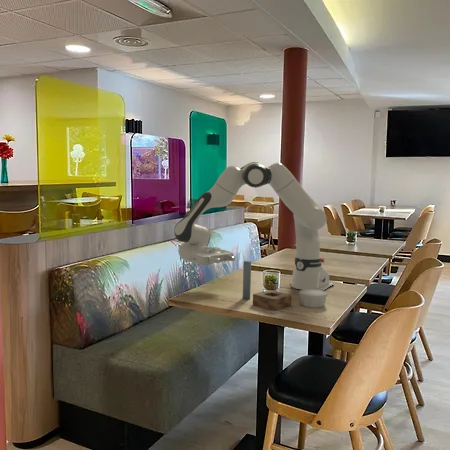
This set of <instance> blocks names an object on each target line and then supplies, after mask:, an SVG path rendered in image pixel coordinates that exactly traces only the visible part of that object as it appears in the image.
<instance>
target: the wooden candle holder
mask: <svg viewBox="0 0 450 450" xmlns="http://www.w3.org/2000/svg"><path fill="white" fill-rule="evenodd" d="M292 296H293V295H292V294H290V293H289V294H288V293H286V292H280V291H277V290H272V289H268V290H264V291H260V292H257V293H252V306H255V307H259V308H263V309H266V310H269V311H273V312H275V311H278V310H283V309H285V308H288V307H292Z"/></svg>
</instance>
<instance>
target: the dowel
mask: <svg viewBox="0 0 450 450" xmlns="http://www.w3.org/2000/svg"><path fill="white" fill-rule="evenodd" d="M242 267H243V268H242V269H243V273H242V275H243V276H242V300H251V284H252V283H251V282H252V281H251V279H252V261H250V260H244V261H243V266H242Z"/></svg>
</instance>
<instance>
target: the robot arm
mask: <svg viewBox="0 0 450 450" xmlns="http://www.w3.org/2000/svg"><path fill="white" fill-rule="evenodd" d="M245 185H247V186H248V187H251V188H260V187H263V186H264V185H269V186H270V187H271V188H272V189H273V191H274V192H275V193H276V194H277V196H278V197H279V199H280V200H281V201H282V203H283V204H284V205H285V207H287V208H288V209H289V210H290V211H291V212H292V213H293V219H294V231H295V239H296V240H295V241H296V242H295V243H296V245H295V257H294V266H293V269H292V277H291V281H290V282H289V284H290V287H292V288H293V289H298V290H300V291H301V290H320V291H325V289H326V290H328V289H329V288H328V287H330V286H332V285H333V284H334V285H335V283H333V282H331V281H330V273H329V272H328V271H327V270H326V269H325V268H324V267H323V266H322V263H323V264H324V263H325V260H326V259H325V258H322V257H320V256H321V255H320V254H321V240H320V235H319V230H320V229H322V228H323V227H325V225H326V223H327V220H328V219H327V215H326V213H325V211H324V210H323V209H322V207H320V206H319V205H318V204H317V203H316V202H315V200H314V199H313V197H311V196H310V195H309V194H308V193H307V191H306V190H305V189H304V188H303V186H302V185H301V183H299V181H298V179H296V177H295V176H294V175H293V173H292V172H291V170H289V169H288V168H287V167H286V166H285V165H284V163H283V164H282V163H281V162H275V163H273V164H271V165H269V166H265V165H263V164H261V163H259V162H257V161H253V162H249V163H247V164H246V165H244V166H241V167H240V168H239V167H237V166H234V165H229V166H227V167H226V168H225V169H224V170H223V171H222V173H221V174H220V175H219V177H218V178H217V180H216V182H215V183H214V185H213V186H212V187H211V188H210V189H209V190H208V191H206V192H204V193H202V194H201V195H200V196H199V197H198V198H197V200H195V202H194V204H193V205H192V206H191V208H190V209H189V210H188V212H187V213H186V214H185V215H184V217H182V218H181V219H180V220H179V221H178V222H177V223H176V225H175V226H174V230H173V231H174V236H175V239H176V240H177V241H178V242H179V243H180V242H182V243H181V244H179V247H178V250H177V251H178V255H179V257H180V258H181V259H182V260H184V261H186V262H189V263H193V264H195V263H196V264H198V265H201V266H206V267H207V266H210V265H212V264H219V263H222V262H223V263H224V262H235V260H236V257H235V256H234V253H233V252H232V251H229V250H225V249H221V247H213V246H209V244H210V240H211V231H210V230H209V228H208V227H206V226H203V225H200V224H197V222H198V220H199V219H200V217H201V216H202V215H203V214H204V213H205V212H206V211H207V210H209V209H212V208H223V207H226V206H228V205H230V204H231V203H232V202H233V201H234V199H235V197H236V195H237V194H238V192H239V190H240V189H241V188H242V187H243V186H245ZM329 282H330V283H329ZM332 287H333V286H332ZM327 288H328V289H327ZM330 288H331V287H330Z"/></svg>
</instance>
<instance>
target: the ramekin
mask: <svg viewBox="0 0 450 450" xmlns="http://www.w3.org/2000/svg"><path fill="white" fill-rule="evenodd" d="M298 294H299V298H300V303H301V305H302V306H304V307H307V308H312V309H314V308H322V307H324V306H325V304H326V301H327V297H328V293H327V292H326V291H325V290H323V291H320V290H301V289H300V290H299V291H298Z"/></svg>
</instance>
